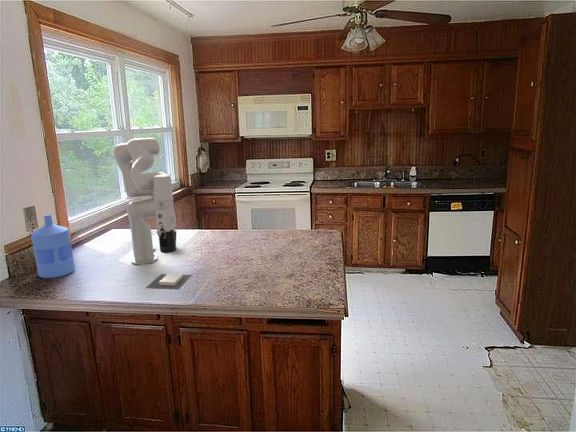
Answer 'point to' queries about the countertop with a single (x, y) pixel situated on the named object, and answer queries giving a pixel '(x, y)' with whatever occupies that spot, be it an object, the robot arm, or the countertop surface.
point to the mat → (156, 285)
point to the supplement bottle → (169, 242)
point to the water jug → (52, 250)
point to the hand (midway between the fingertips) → (167, 243)
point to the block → (171, 279)
